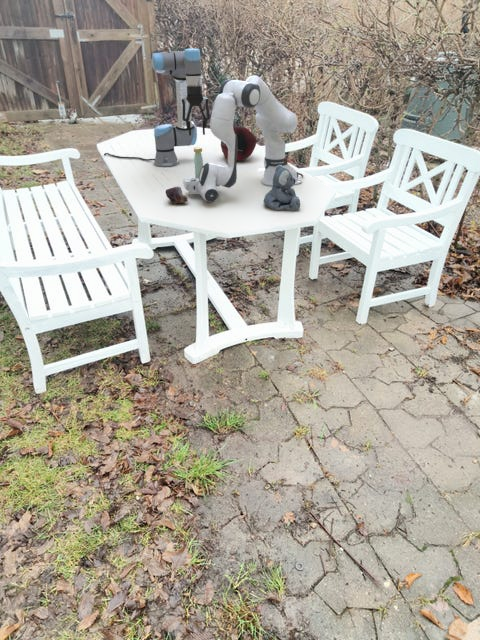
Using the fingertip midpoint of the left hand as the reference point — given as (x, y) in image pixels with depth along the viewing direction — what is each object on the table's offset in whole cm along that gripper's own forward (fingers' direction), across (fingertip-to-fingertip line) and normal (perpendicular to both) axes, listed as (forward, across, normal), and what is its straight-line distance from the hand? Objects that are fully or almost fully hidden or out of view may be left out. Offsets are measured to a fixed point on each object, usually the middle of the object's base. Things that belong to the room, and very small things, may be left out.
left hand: (197, 134), depth 234 cm
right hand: (+23, 0, -1) cm, 23 cm away
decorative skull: (+29, -32, -58) cm, 73 cm away
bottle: (+29, 0, 0) cm, 29 cm away
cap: (+7, 0, 0) cm, 7 cm away
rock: (+29, +14, +18) cm, 37 cm away
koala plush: (+29, -38, +34) cm, 58 cm away
